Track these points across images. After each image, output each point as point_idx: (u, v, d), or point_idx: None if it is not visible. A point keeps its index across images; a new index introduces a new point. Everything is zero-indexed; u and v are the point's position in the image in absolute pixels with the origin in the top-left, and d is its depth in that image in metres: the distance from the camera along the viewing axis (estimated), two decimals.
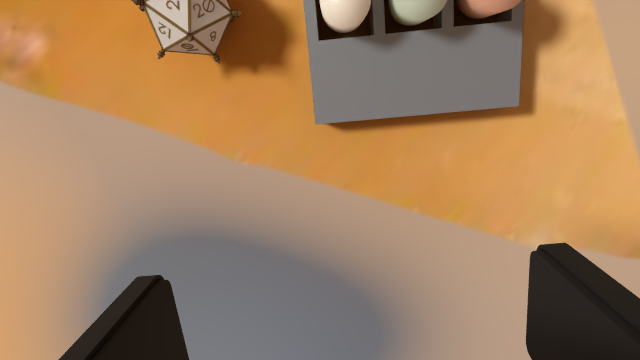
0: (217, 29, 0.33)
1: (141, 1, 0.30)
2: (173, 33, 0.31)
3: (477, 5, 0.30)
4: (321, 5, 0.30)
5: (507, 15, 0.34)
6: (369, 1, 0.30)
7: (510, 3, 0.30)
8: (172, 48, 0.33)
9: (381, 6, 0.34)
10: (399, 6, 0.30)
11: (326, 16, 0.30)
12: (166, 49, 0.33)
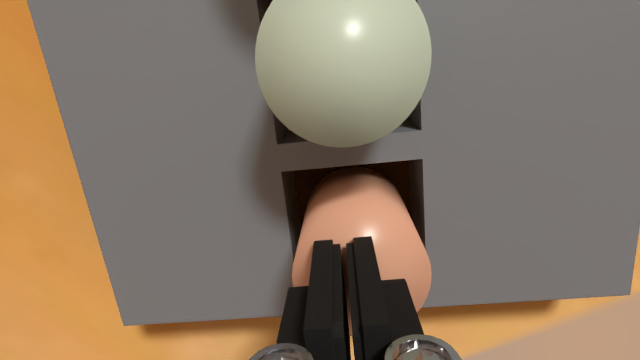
0: None
1: None
2: None
3: (312, 221, 0.12)
4: None
5: None
6: None
7: None
8: None
9: None
10: None
11: None
12: None
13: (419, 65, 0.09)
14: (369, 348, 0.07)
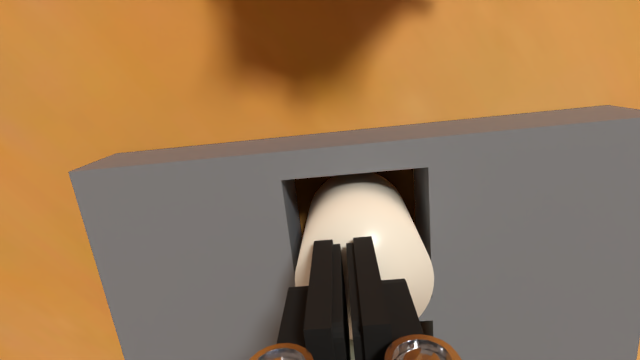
0: None
1: None
2: None
3: None
4: (351, 222, 0.11)
5: None
6: None
7: None
8: None
9: None
10: None
11: (322, 235, 0.11)
12: None
13: None
14: (369, 348, 0.07)
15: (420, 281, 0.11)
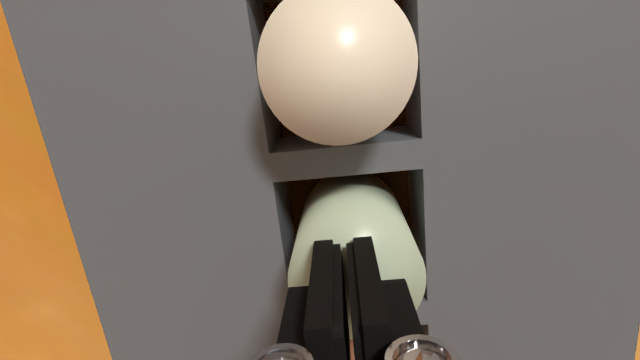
0: None
1: None
2: None
3: None
4: None
5: None
6: (333, 141, 0.10)
7: None
8: None
9: (339, 169, 0.13)
10: (321, 223, 0.11)
11: (287, 3, 0.09)
12: None
13: (417, 285, 0.11)
14: (369, 348, 0.07)
15: (402, 63, 0.09)
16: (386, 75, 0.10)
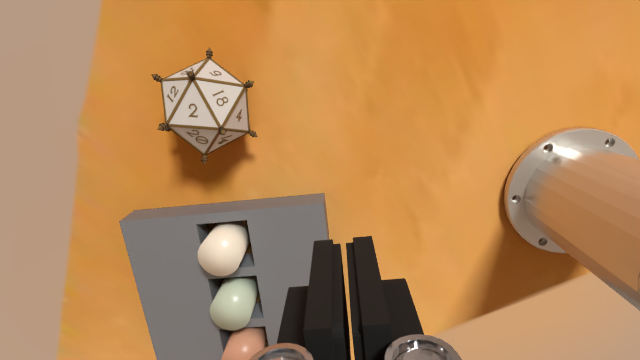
0: None
1: (191, 78, 0.29)
2: (169, 104, 0.30)
3: (227, 346, 0.39)
4: (213, 238, 0.35)
5: None
6: (219, 275, 0.36)
7: None
8: None
9: (229, 275, 0.38)
10: (219, 296, 0.37)
11: (205, 242, 0.35)
12: (161, 85, 0.31)
13: (248, 314, 0.37)
14: (369, 348, 0.07)
15: (236, 256, 0.35)
16: (232, 259, 0.35)
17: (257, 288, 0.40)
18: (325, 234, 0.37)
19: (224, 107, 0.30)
